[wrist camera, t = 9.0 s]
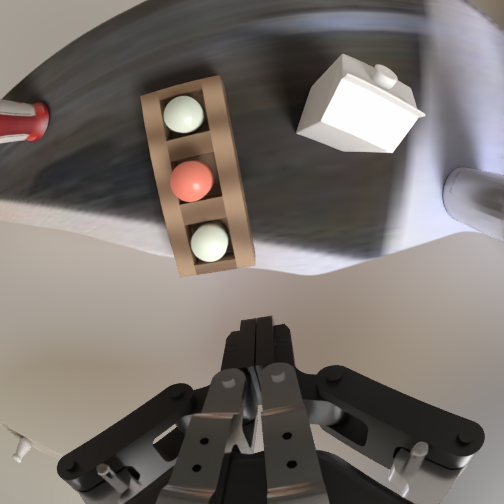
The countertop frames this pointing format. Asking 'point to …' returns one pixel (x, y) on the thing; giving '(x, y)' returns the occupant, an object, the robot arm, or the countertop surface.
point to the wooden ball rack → (221, 162)
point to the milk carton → (358, 108)
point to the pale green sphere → (184, 115)
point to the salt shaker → (22, 449)
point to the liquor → (22, 121)
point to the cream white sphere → (210, 241)
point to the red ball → (192, 180)
